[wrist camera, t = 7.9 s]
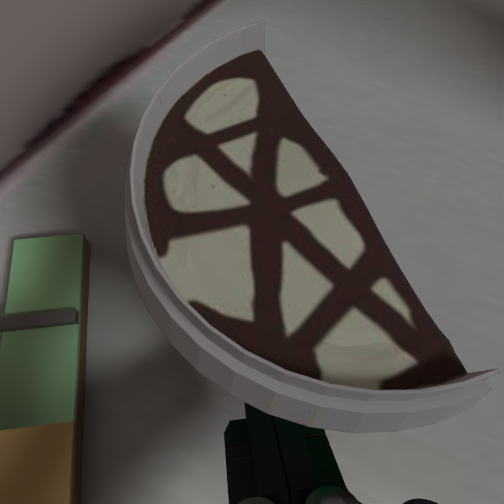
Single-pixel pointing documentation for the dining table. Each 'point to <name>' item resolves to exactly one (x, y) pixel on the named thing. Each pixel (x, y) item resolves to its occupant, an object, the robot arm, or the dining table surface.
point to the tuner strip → (44, 370)
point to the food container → (276, 257)
